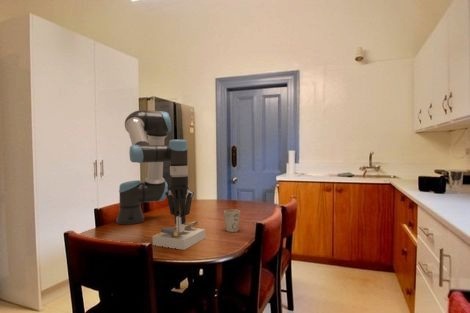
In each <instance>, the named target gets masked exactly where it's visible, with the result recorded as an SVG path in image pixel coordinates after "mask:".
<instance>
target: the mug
mask: <svg viewBox="0 0 470 313" xmlns="http://www.w3.org/2000/svg"><path fill="white" fill-rule="evenodd" d="M223 214H224V222H225V229H226V231H227V232H228V233H237V232H238V231H239V228H240V219H241V210H239V209H233V208H232V209H225V210H224V211H223Z"/></svg>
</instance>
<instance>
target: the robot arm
mask: <svg viewBox="0 0 470 313" xmlns="http://www.w3.org/2000/svg"><path fill="white" fill-rule="evenodd" d="M124 127H125V130H126V132H127V133H128V136H129V138H130V142H131V145H130V147H129V153H128V154H129V161H130V162H131V163H138V164H141V163H147V176H146V177H145V179H144V182H142V181H141V180H129V181H124V182H122V183H120V184H119V190H118V193H119V210H118V213H117V217H116V224H118V225H134V224H135V225H136V224H140V223H143V222H145V215H144V214H143V210H142V203H152V202H156V203H157V202H161V201H165V200H166V198H167V203H168V209H169V213H170V215H172V216H174V224H176V225H175V226H176V231H177V232H183V231H184V224H185V223H187V222H186V221H187V220H186V216H189V215H190V212H191V206H192V199H193V197H194V195H195V193H194V191H190V190H189V186H188V185H189V177H188V175H189V169H188V168H189V166H188V165H189V164H188V162H189V161H188V160H189V158H188V149H189V147H188V141H187V140H186V139H170V140H169V143H168V145H166V144H165V139H166V138H167V137H168V135H169V134H168V133H171V132H172V121H171V117H170V114H169V113H168V112H167V111H164V110H163V111H162V110H144V109H140V110H135V111H133V112H132V113H130V114H129V115H127V116H126V118H125V121H124ZM164 163H169V176H170V177H169V184H170V189H168V186H169V185H168V182H167V181H166V179H165V178H164V177H163V176H164Z"/></svg>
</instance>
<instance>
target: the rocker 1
mask: <svg viewBox="0 0 470 313" xmlns="http://www.w3.org/2000/svg"><path fill="white" fill-rule="evenodd" d="M161 232H162V233H166V234H170V235H174V236H180V235H183V233H184V231H183V232H177V231H176V229H174V228H172V227H170V226H165V227H162V228H160V233H161Z"/></svg>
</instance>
